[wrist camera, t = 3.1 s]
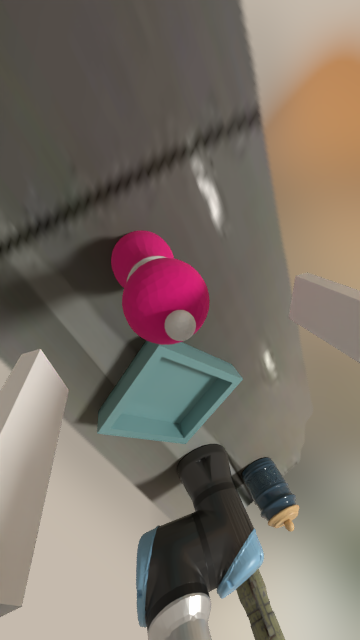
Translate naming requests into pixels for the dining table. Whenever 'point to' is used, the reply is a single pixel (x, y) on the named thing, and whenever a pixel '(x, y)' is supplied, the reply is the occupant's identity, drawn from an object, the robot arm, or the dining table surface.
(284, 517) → the canister
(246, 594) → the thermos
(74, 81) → the dining table surface
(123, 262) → the pepper mill
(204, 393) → the tray
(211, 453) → the robot arm
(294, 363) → the dining table surface
